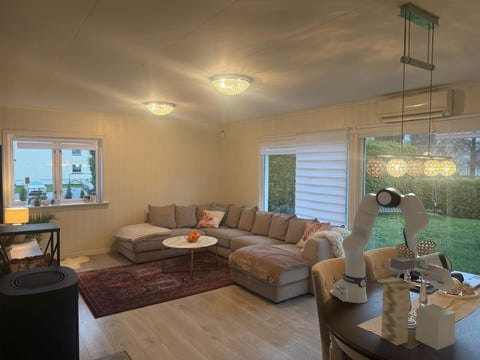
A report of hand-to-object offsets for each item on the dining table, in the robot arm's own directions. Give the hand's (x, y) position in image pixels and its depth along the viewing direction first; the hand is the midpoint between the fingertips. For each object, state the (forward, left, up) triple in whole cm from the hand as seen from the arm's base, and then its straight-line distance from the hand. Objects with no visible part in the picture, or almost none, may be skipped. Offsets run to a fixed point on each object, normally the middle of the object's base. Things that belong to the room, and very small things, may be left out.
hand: (415, 261), depth 152 cm
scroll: (-56, +75, -34) cm, 100 cm away
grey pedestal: (+9, +2, -34) cm, 35 cm away
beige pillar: (0, -13, -34) cm, 36 cm away
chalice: (-52, +59, -34) cm, 86 cm away
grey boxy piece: (0, -4, -2) cm, 5 cm away
